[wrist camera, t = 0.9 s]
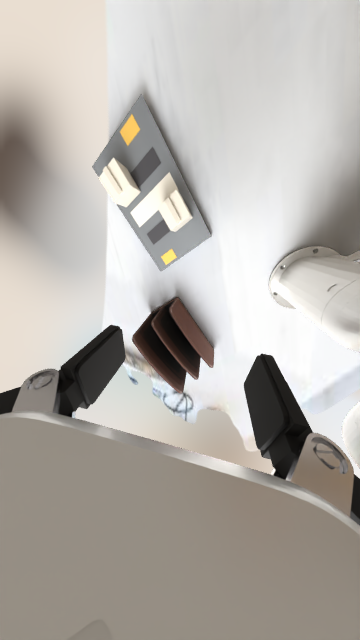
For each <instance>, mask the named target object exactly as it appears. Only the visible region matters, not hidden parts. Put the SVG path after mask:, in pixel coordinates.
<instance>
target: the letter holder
mask: <svg viewBox="0 0 360 640" xmlns="http://www.w3.org/2000/svg"><path fill="white" fill-rule="evenodd" d="M132 341H133V343H134V344H135V346H136V347H137V348H138V350H139V351H140V353H141V354H142V355H143V356H144V358H145V359H146V360H147V361H148V363H149V364H150V365H151V366H152V367H153V368H154V369H155V371H156V372H157V373H158V374H159V375H160V376H161V377H162V378H163V379H164V380H165V381H166V382H167V383H168V384H169V385H170V386H172V387H173V388H174V389H175V390H176V391H177V392H179V393H182V392H183V390H184V384H185V378H186V372H188V373H189V374H190V375H191V376H192V377H193V378H194V379H196V380H197V379H198V378H199V367H200V358H202V359H203V360H204V361H205V362H206V363H207V364H208V366H209V367H211V368H213V365H214V349H213V348H212V346H211V345H210V343H209V342H208V340H207V339H206V337H205V336H204V334H203V333H202V332H201V330H200V329H199V327H198V326H197V324H196V323H195V321H194V320H193V318H192V317H191V315H190V314H189V313H188V311H187V310H186V308H185V307H184V305H183V304H182V303H181V301H180V300H179V298H178V297H176V298H175V299H173V300H172V301H170V302H168V303H167V304H165V305H163V306H162V307H160V308H158V309H157V310H155V311H154V312H152V313H151V314H150V315H149V316H148V318H147V319H146V320H145V321H144V323H143V324H142V325H141V326H140V328H139V329H138V330H137V331H136V332H135V334H134V335H133V338H132Z"/></svg>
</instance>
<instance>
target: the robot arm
mask: <svg viewBox="0 0 360 640" xmlns="http://www.w3.org/2000/svg"><path fill="white" fill-rule="evenodd" d="M313 250H314V251H313ZM359 259H360V250H359V251H357V252H355V253H353V254H351V255H349V256H342V255H339V254H338V252H336V251H335V250H333V249H330V248H327V247H321V246H311V247H306V248H302V249H300V250H297V251H295V252H293V253H291V254H290V255H288V256H287V257H285V258H284V259H283V260H282V261H281V262H280V263H279V264H278V265H277V266H276V268H275V269H274V271H273V273H272V274H271V277H270V280H269V291H270V294H271V296H272V298H273V299H274V300H275V301H276V302H277V303H278V304H280V305H281V306H283V307H286V308H291V309H297V310H299V311H300V312H301V313H302V314H303V315H305V316H306V317H307V318H308V319H309V320H311V321H312V322H313V323H314V324H315V325H317V326H318V327H319V328H320V329H321V330H323V331H324V332H325V333H326V334H327V335H328V336H330V337H331V338H332V339H333V340H335V341H336V342H337V343H339V344H340V345H342V346H344V347H346V348H348V349H350V350H353V351H356V352H359V353H360V262H355V260H359ZM281 266H282V267H281ZM280 267H281V268H280ZM274 292H275V293H274ZM124 360H125V349H124V342H123V334H122V329H120V327H119V326H114V325H110V326H109V327H107V328H106V329H105V330H104V331H103V332H101V333H100V334H99V335H98V336H97V337H96V338H94V339H93V340H92V341H91V342H90V343H88V344H87V345H86V346H85V347H84V348H83V349H81V350H80V351H79V352H78V353H77V354H75V355H74V356H73V357H72V358H71V359H69V360H68V361H67V362H66V363H65V364H64V365H62V366H61V370H59V371H57V370H55V369H45V370H42V371H39V372H37V373H35V374H33V375H31V376H30V377H29V378H28V379H26V380H25V381H24V383H23V385H22V386H21V387H19V388H15V389H12V390H9V391H6V392H3V393H0V640H360V479H359V478H358V477H357V476H356V475H355V474H354V471H353V467H352V464H351V462H350V460H349V459H348V457H347V456H346V454H345V453H344V452H343V451H342V450H341V449H340V447H339V446H337V445H336V444H335V443H334V442H333V441H331V440H330V439H328V438H327V437H325V436H323V435H321V434H318V433H313V432H312V430H311V428H310V426H309V424H308V422H307V420H306V418H305V416H304V414H303V412H302V411H301V409H300V407H299V405H298V403H297V401H296V399H295V397H294V395H293V393H292V391H291V389H290V388H289V386H288V384H287V382H286V381H285V379H284V377H283V375H282V373H281V371H280V369H279V368H278V366H277V364H276V362H275V360H274V358H273V356H271V355H266V354H261V355H260V356H257V358H256V360H255V362H254V364H253V366H252V368H251V370H250V372H249V374H248V376H247V378H246V380H245V382H244V390H245V394H246V399H247V404H248V408H249V413H250V418H251V422H252V427H253V432H254V436H255V441H256V445H257V448H258V449H260V450H261V455H262V457H264V458H267V459H271V461H272V464H273V467H274V468H273V471H272V472H271V475H270V474H266V473H263V472H260V471H257V470H254V469H250V468H247V467H244V466H241V465H237V464H234V463H230V462H227V461H224V460H220V459H217V458H213V457H210V456H207V455H203V454H200V453H196V452H192V451H189V450H186V449H182V448H179V447H175V446H172V445H168V444H165V443H161V442H158V441H154V440H151V439H147V438H144V437H140V436H137V435H133V434H130V433H126V432H123V431H119V430H115V429H112V428H108V427H105V426H101V425H97V424H94V423H90V422H87V421H83V420H79V419H75V411H76V410H77V408H78V407H81V408H85V409H87V408H88V407H89V406H90V404H93V403H94V402H95V401H96V399H97V398H98V396H99V395H100V394H101V392H102V391H103V390H104V388H105V387H106V386H107V384H108V383H109V381H110V380H111V379H112V377H113V376H114V375H115V373H116V372H117V370H118V369H119V367H120V366H121V365H122V363H123V362H124ZM342 438H343V441H344V443H345V446H346V448H347V450H348V452H349V454H350V456H351V457H352V459H353V460H354V461H355V463H356V464H357V466H358V467H359V468H360V401H359V402H358V403H357V404H356V405H355V406H354V407H353V408H352V409H351V410H350V411H349V413H348V414H347V415H346V417H345V418H344V420H343V424H342Z"/></svg>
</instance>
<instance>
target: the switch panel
mask: <svg viewBox="0 0 360 640" xmlns="http://www.w3.org/2000/svg"><path fill="white" fill-rule="evenodd" d="M113 157H114V158H115V159H116V160H117V161H118V162H120V163H121V164H122V165H123V166H125V167H126V168H127V170H128V171H129V173H130V175H131V176H132V178H133V180H134V181H135V183H136V185H137V187H138V188H139V190H140V193H139V195H138V196H137V197H136V198H135V199H134V200H133V201H132V202H131V203H130V204H129V205H128V206H127V207H124V206H121V205H118V204H117V206H118V207H119V209H120V210H121V212H122V213H123V215H124V216H125V218H126V219H127V221H128V222H129V224H130V225H131V227H132V228H133V230H134V232H135V233H136V235H137V236H138V238H139V239H140V241H141V242H142V244H143V245H144V247H145V248H146V250H147V251H148V253H149V254H150V256H151V257H152V259H153V260H154V262H155V264H156V265H157V267H158V268H159V270H160V271H163V270H164V269H165V268H167V267H168V266H170V265H171V264H173V263H174V262H175V261H177V260H178V259H180V258H181V257H183V256H184V255H185V254H187V253H188V252H190V251H191V250H192V249H194V248H195V247H197V246H198V245H200V244H201V243H202V242H204V241H205V240H207V239H208V238H210V237H211V234H210V232H209V230H208V228H207V226H206V224H205V222H204V220H203V218H202V216H201V214H200V212H199V210H198V208H197V206H196V204H195V202H194V200H193V198H192V196H191V193H190V191H189V189H188V187H187V185H186V183H185V181H184V179H183V177H182V175H181V173H180V171H179V169H178V167H177V165H176V163H175V161H174V159H173V157H172V155H171V153H170V151H169V149H168V147H167V144H166V142H165V140H164V138H163V136H162V134H161V132H160V130H159V128H158V126H157V124H156V122H155V120H154V118H153V116H152V114H151V112H150V110H149V108H148V106H147V104H146V102H145V100H144V98H143V96H142V94H141V95H140V97H139V98H138V100H137V101H136V103H135V104H134V106H133V107H132V109H131V110H130V112H129V113H128V114H127V116H126V117H125V119H124V120H123V122H122V123H121V125H120V126H119V128H118V129H117V131H116V132H115V134H114V135H113V137H112V138H111V140H110V141H109V143H108V144H107V146H106V147H105V148H104V150H103V151H102V153H101V154H100V156H99V157H98V159H97V160H96V162H95V163H94V165H93V166H92V167H93V169H94V170H95V172H96V174H97V175H98V176H99V177H100V175H101V174H102V173H103V169H104V167H105V166H108V164H109V163H110V162H111V160H112V159H113ZM175 190H178V192H179V193H180V195H181V196H182V198H183V200H184V202H185V204H186V206H187V208H188V210H189V212H190V214H191V215H192V217H193V218H192V219H191V220H190V221H189V222H187V223H186V224H185V225H184V226H182V227H181V228H180V229H179V230H178V231H176V232H174V231H171V230H170V229H169V227H168V225H167V223H166V222H165V220H164V218H163V217H162V215H161V213H160V211H159V210H158V207H159V206H160V205H161V204H162V203H163V202H164V201H165V200H166V199H167V198H168V197H169V196H170V195H171V194H172V193H173V192H174V191H175Z"/></svg>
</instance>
